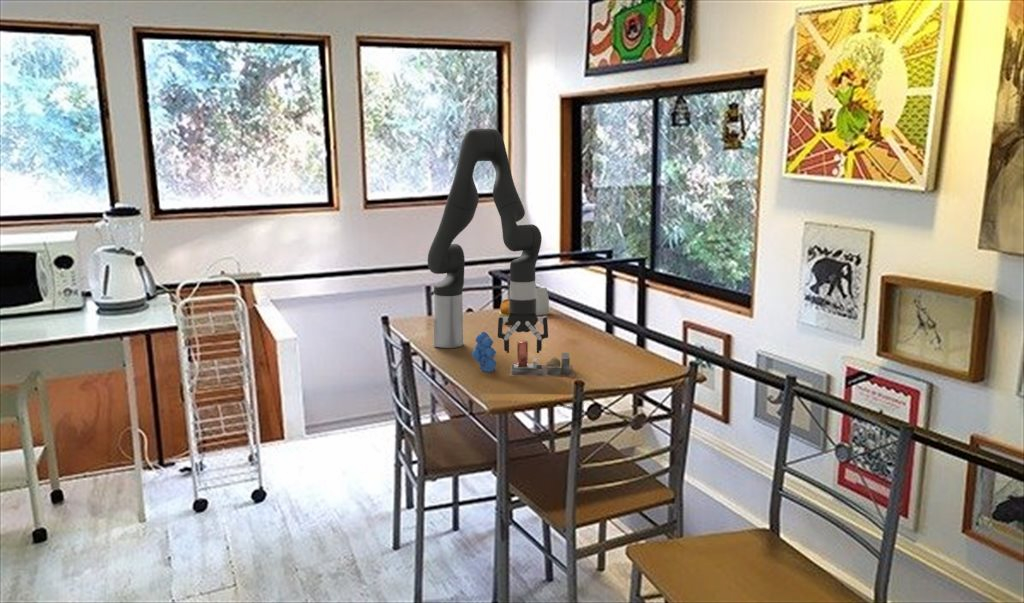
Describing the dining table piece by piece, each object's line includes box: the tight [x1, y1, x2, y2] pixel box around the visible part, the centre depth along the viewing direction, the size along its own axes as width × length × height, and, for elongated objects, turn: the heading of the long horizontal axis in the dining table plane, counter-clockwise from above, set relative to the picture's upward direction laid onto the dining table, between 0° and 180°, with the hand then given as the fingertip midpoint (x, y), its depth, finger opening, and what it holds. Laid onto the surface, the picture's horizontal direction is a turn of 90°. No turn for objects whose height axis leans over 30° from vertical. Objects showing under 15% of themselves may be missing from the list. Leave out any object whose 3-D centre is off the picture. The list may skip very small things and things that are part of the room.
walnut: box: [545, 356, 561, 366], centre depth 216 cm, size 4×4×4 cm
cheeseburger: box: [498, 298, 510, 325], centre depth 281 cm, size 10×11×10 cm
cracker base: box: [509, 352, 575, 378], centre depth 217 cm, size 18×11×6 cm, turn 89°
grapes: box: [471, 331, 497, 373], centre depth 218 cm, size 12×7×12 cm, turn 24°
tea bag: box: [536, 287, 550, 316], centre depth 294 cm, size 4×7×10 cm, turn 116°
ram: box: [513, 340, 538, 370], centre depth 216 cm, size 6×4×8 cm, turn 89°
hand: (522, 352), depth 216 cm, fingers open, 8 cm apart
